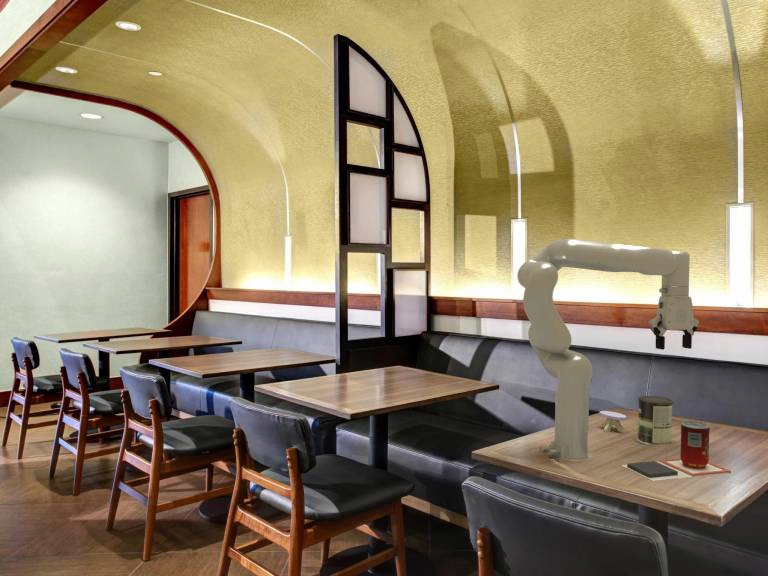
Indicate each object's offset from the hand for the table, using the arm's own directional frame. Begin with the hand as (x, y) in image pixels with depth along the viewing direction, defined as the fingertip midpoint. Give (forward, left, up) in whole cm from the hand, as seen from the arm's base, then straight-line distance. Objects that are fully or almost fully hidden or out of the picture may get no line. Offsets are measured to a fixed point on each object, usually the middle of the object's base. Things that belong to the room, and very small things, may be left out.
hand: (673, 348), depth 187 cm
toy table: (0, +29, -33) cm, 43 cm away
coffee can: (+4, +12, -33) cm, 35 cm away
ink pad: (-19, -15, -31) cm, 39 cm away
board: (-12, -15, -32) cm, 38 cm away
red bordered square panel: (-5, -15, -31) cm, 35 cm away
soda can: (-5, -15, -31) cm, 35 cm away
